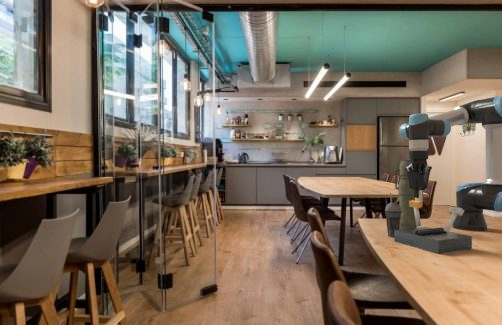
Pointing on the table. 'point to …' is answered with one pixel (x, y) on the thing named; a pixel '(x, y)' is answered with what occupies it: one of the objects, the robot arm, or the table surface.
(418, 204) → the orange mallet
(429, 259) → the table surface
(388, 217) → the beverage cup
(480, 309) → the table surface
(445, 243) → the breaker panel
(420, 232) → the cord bundle
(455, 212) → the white toy hammer
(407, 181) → the thermos
